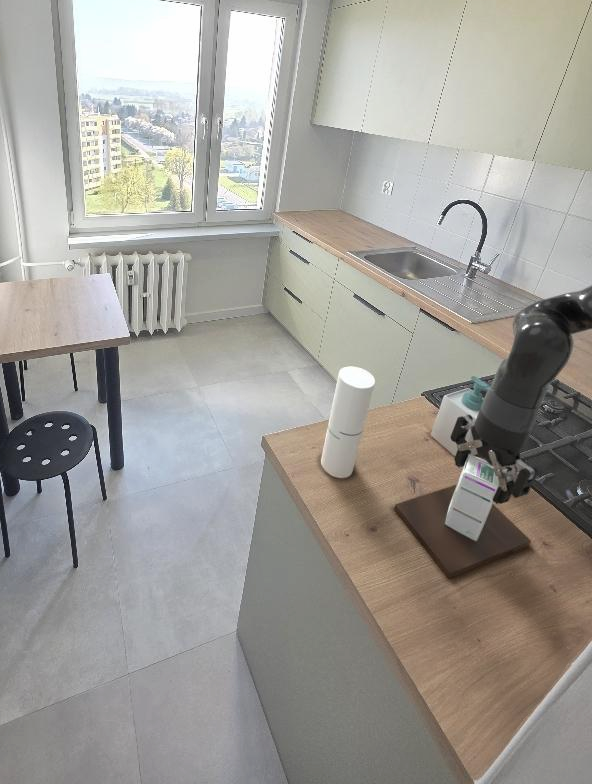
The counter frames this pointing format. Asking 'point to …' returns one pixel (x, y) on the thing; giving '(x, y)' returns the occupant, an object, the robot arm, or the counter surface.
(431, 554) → the board
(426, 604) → the counter surface
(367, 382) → the cylindrical container
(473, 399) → the soap bottle
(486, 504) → the syrup box
